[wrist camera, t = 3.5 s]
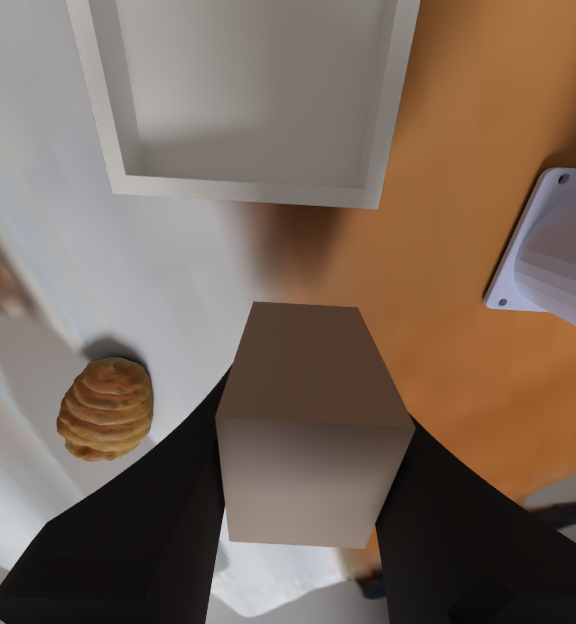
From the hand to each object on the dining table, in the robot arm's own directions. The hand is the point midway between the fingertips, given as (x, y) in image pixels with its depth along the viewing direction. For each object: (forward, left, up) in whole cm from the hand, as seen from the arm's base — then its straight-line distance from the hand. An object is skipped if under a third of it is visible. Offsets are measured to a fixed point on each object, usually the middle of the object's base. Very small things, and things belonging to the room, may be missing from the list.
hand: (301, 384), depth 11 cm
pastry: (+15, +10, -8) cm, 20 cm away
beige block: (0, 0, -2) cm, 2 cm away
